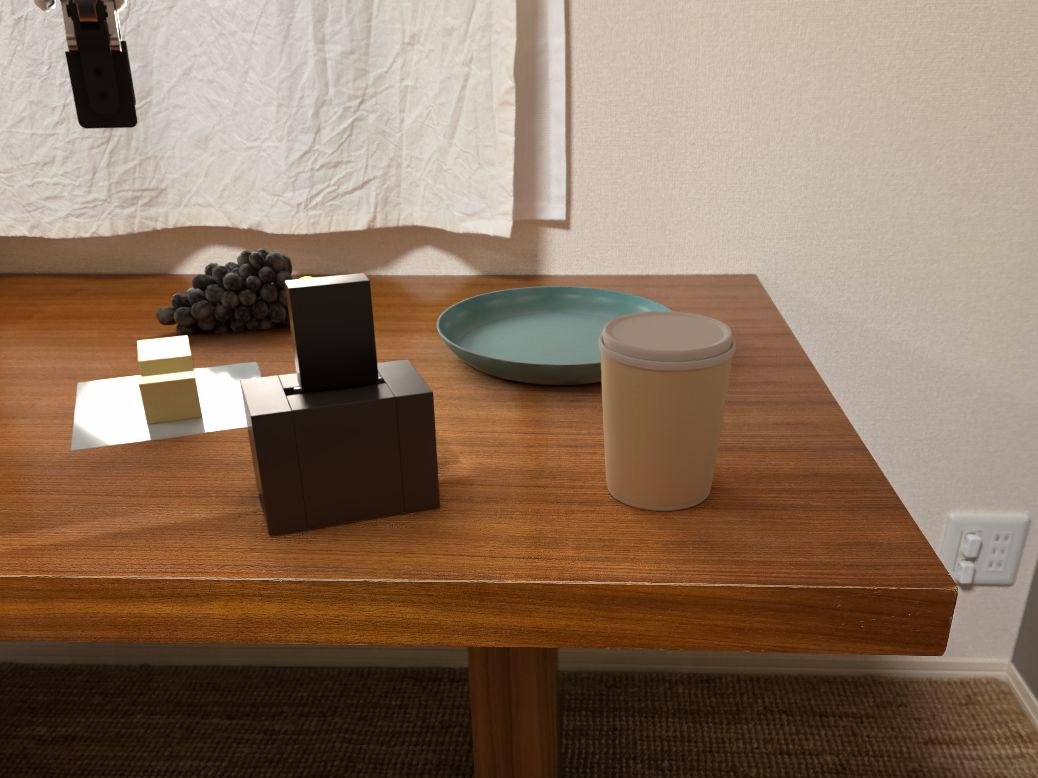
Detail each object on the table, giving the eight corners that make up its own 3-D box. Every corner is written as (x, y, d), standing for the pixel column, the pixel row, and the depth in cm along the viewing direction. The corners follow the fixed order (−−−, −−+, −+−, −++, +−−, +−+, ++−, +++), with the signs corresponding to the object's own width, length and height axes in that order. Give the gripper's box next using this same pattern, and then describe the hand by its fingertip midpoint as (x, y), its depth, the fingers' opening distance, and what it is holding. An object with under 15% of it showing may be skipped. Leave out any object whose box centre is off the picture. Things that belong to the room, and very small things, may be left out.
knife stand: (269, 536, 68) (250, 416, 64) (257, 493, 74) (239, 379, 70) (440, 507, 72) (433, 391, 68) (416, 468, 78) (408, 358, 73)
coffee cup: (667, 450, 80) (677, 302, 74) (748, 495, 73) (766, 335, 68) (570, 479, 76) (572, 323, 70) (647, 529, 69) (656, 362, 63)
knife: (311, 512, 71) (282, 289, 64) (307, 500, 73) (278, 281, 65) (395, 499, 73) (376, 279, 65) (388, 487, 75) (369, 272, 67)
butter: (145, 400, 88) (137, 361, 86) (144, 377, 93) (136, 340, 91) (198, 393, 89) (191, 355, 87) (194, 371, 94) (187, 334, 92)
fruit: (143, 258, 98) (297, 240, 103) (143, 267, 106) (287, 249, 110) (163, 348, 100) (314, 326, 105) (163, 350, 107) (303, 329, 112)
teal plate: (400, 382, 94) (398, 348, 92) (482, 308, 114) (481, 279, 113) (657, 407, 88) (659, 371, 87) (695, 324, 108) (698, 294, 107)
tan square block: (147, 424, 83) (138, 384, 81) (146, 416, 84) (138, 377, 83) (202, 417, 84) (195, 377, 82) (201, 409, 86) (193, 370, 84)
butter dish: (72, 462, 79) (70, 451, 78) (79, 392, 92) (76, 382, 92) (280, 433, 84) (278, 422, 83) (258, 371, 97) (256, 361, 96)
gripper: (-9, -207, 60) (53, 102, 69) (-50, -260, 46) (34, 138, 55) (124, -198, 63) (168, 100, 71) (124, -246, 49) (179, 134, 57)
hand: (110, 116), depth 63 cm, fingers open, 9 cm apart
